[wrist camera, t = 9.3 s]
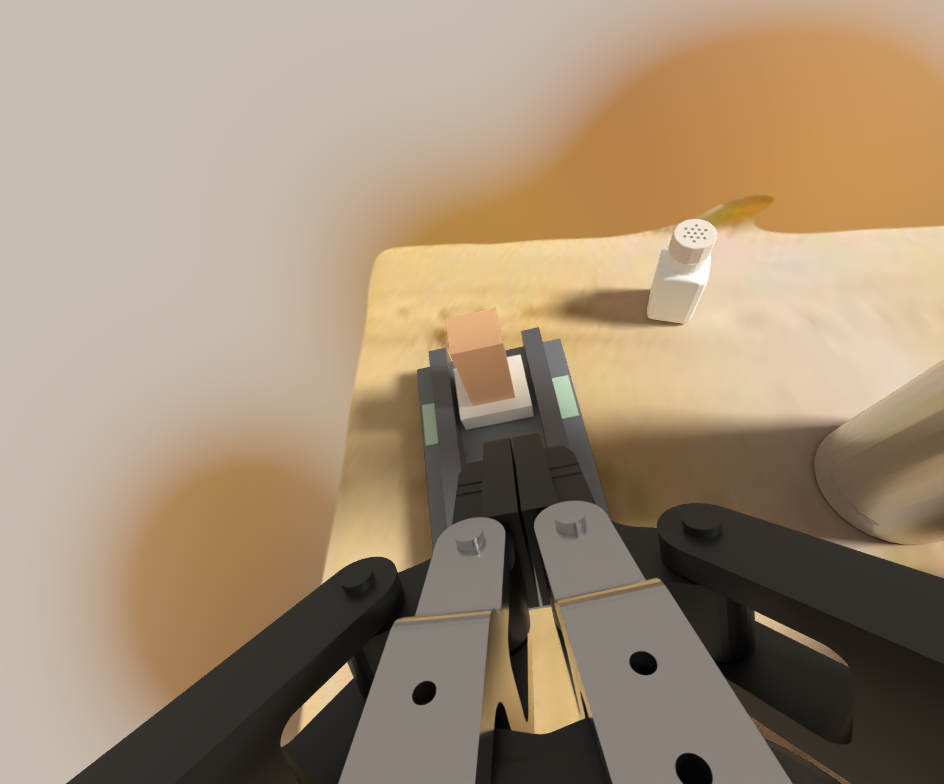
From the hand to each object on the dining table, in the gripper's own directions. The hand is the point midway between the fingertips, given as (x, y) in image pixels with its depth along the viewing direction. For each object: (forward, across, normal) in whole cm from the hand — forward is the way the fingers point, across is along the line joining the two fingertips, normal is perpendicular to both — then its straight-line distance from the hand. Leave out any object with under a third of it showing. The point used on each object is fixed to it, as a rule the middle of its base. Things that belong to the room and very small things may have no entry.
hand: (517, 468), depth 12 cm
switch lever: (+26, +2, +7) cm, 27 cm away
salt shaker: (+33, -16, +4) cm, 37 cm away
